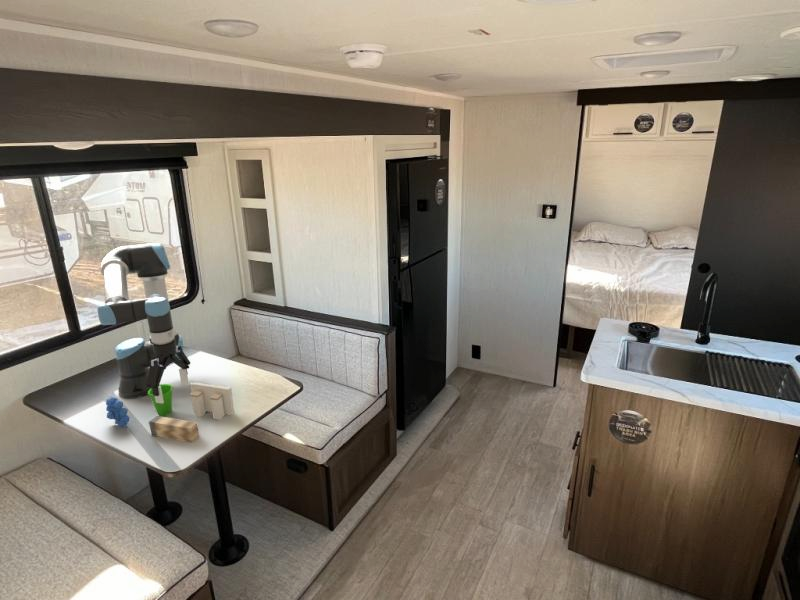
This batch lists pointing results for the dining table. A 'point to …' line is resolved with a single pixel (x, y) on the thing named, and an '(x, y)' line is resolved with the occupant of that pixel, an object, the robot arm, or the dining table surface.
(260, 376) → the dining table surface
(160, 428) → the block
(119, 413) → the grapes
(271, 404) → the dining table surface
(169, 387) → the cup
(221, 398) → the headboard
